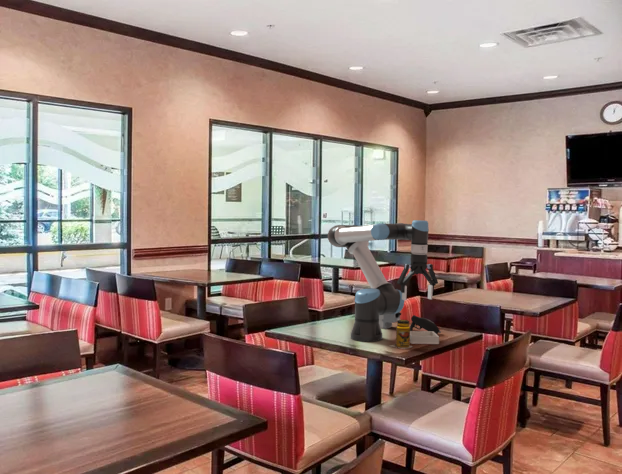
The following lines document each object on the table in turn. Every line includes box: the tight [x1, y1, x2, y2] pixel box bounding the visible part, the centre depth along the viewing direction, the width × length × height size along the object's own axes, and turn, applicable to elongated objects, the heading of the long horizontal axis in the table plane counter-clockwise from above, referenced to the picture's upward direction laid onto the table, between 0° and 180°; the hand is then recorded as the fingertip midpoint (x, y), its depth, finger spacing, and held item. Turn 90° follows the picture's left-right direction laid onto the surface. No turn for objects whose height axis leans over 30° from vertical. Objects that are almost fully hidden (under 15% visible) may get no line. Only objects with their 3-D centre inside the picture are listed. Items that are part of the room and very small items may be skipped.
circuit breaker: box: [379, 311, 402, 330], centre depth 309 cm, size 8×14×15 cm, turn 58°
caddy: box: [410, 330, 440, 345], centre depth 277 cm, size 13×12×4 cm
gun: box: [409, 314, 442, 335], centre depth 294 cm, size 3×16×10 cm, turn 89°
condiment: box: [390, 319, 414, 350], centre depth 265 cm, size 7×8×12 cm
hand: (417, 299), depth 272 cm, fingers open, 13 cm apart
